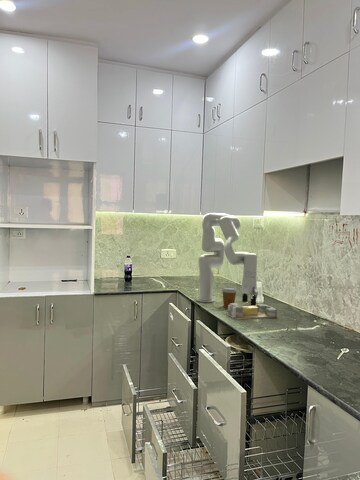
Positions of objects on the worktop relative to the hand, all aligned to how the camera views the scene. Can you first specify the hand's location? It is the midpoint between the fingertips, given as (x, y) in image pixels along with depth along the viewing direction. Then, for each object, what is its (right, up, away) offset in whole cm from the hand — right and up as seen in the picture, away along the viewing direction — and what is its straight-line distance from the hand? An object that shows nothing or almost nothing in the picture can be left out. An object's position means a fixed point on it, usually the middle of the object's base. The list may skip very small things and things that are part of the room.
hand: (249, 303), depth 214 cm
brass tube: (-2, -6, 0) cm, 6 cm away
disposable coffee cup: (-9, -6, +20) cm, 23 cm away
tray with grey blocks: (+1, -7, +2) cm, 7 cm away
